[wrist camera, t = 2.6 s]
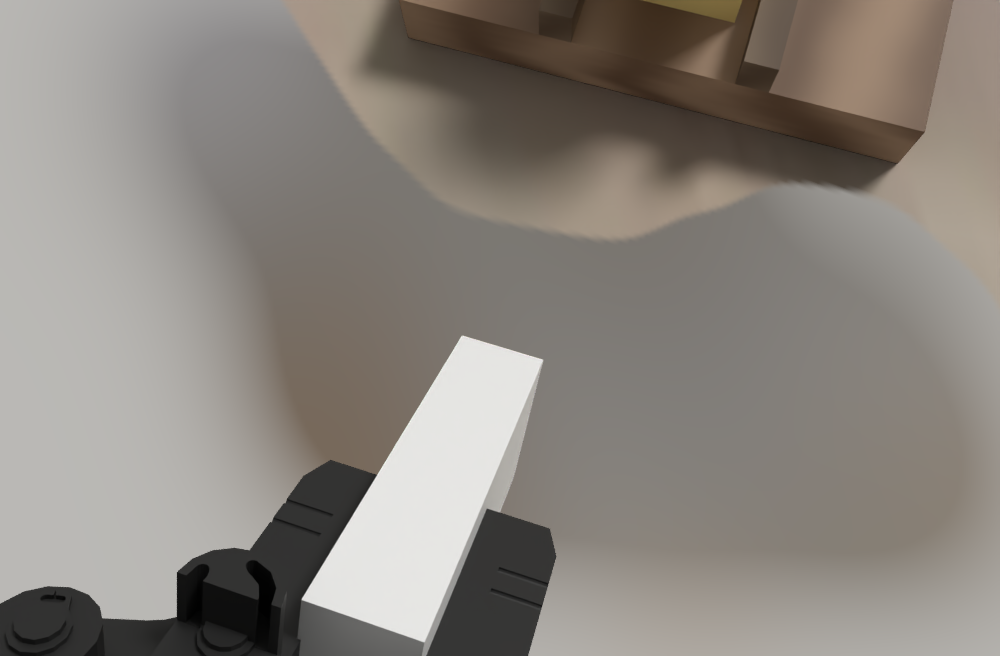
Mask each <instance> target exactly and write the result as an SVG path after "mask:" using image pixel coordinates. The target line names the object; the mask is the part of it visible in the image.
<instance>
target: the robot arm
mask: <svg viewBox="0 0 1000 656" xmlns="http://www.w3.org/2000/svg"><path fill="white" fill-rule="evenodd" d="M542 363H543V360H542V359H539V358H535V357H532V356H528V355H525V354H522V353H519V352H515V351H512V350H509V349H505V348H502V347H498V346H495V345H492V344H488V343H485V342H482V341H479V340H475V339H471V338H469V337H465V336H462V337H461V338H460V340H459V342H458V343H457V345H456V347H455V348H454V350H453V352H452V353H451V355H450V356H449V358H448V360H447V361H446V363H445V365H444V366H443V368H442V370H441V371H440V373H439V375H438V377H437V378H436V379H435V381H434V383H433V384H432V386H431V388H430V389H429V391H428V393H427V394H426V396H425V398H424V399H423V401H422V402H421V404H420V406H419V407H418V409H417V411H416V412H415V414H414V416H413V417H412V419H411V420H410V422H409V424H408V425H407V427H406V429H405V430H404V432H403V434H402V435H401V437H400V439H399V440H398V442H397V443H396V445H395V447H394V449H393V450H392V452H391V453H390V455H389V457H388V458H387V460H386V462H385V463H384V465H383V467H382V468H381V470H380V471H379V473H378V475H375V474H372V473H369V472H366V471H363V470H360V469H357V468H354V467H351V466H348V465H345V464H341V463H338V462H335V461H332V460H330V461H328V462H326V463H325V464H323V465H321V466H320V467H318V468H316V469H315V470H313V471H311V472H310V473H308V474H306V475H305V476H303V478H302V479H301V480H300V482H299V483H298V484H297V486H296V487H295V489H294V490H293V491H292V493H291V494H290V496H289V497H288V498H287V501H286V503H284V504H283V505H282V507H281V508H280V509H279V511H278V512H277V513H276V515H275V516H274V518H273V521H272V523H271V522H270V523H269V524H268V526H267V527H266V529H265V530H264V531H263V533H262V534H261V536H260V537H259V538H258V540H257V541H256V542H255V544H254V545H253V547H252V548H251V549H250V551H249V550H244V549H237V548H231V549H221V550H213V551H210V552H208V553H205V554H203V555H201V556H198V557H196V558H193V559H192V560H191V561H190V562H188V563H187V564H186V565H185V566H184V567H182V568H181V569H180V570H179V571H178V572H177V617H175V618H171V619H166V620H150V621H145V620H124V619H123V620H121V619H103V618H102V616H101V611H100V607H99V606H98V605H97V604H96V603H95V601H94V600H93V599H92V598H91V597H90V596H89V595H88V594H85V593H83V592H80V591H77V590H75V589H72V588H69V587H50V586H48V587H43V588H38V589H34V590H29V591H25V592H22V593H21V594H18V595H16V596H15V597H12V598H10V599H9V600H7V601H5V602H3V603H1V604H0V656H528V653H529V650H530V647H531V643H532V639H533V636H534V633H535V629H536V626H537V622H538V619H539V615H540V611H541V608H542V605H543V601H544V598H545V594H546V590H547V587H548V583H549V580H550V576H551V573H552V570H553V566H554V563H555V559H556V553H555V549H554V545H553V541H552V537H551V533H550V529H549V528H546V527H543V526H540V525H536V524H533V523H530V522H527V521H524V520H521V519H518V518H514V517H512V516H508V515H506V514H502V513H500V511H501V508H502V506H503V503H504V501H505V498H506V496H507V493H508V490H509V488H510V485H511V483H512V480H513V478H514V474H515V470H516V466H517V462H518V458H519V454H520V450H521V446H522V442H523V438H524V434H525V430H526V426H527V423H528V418H529V414H530V411H531V407H532V403H533V399H534V395H535V391H536V387H537V383H538V379H539V375H540V371H541V367H542Z"/></svg>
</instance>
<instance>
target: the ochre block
mask: <svg viewBox="0 0 1000 656" xmlns="http://www.w3.org/2000/svg"><path fill="white" fill-rule="evenodd" d="M643 1H647V2H651V3H655V4H659V5H663V6H667V7H671V8H675V9H680V10H684V11H688V12H692V13H696V14H700V15H704V16H708V17H712V18H716V19H721V20H725V21H729V22H733V23H735V20H736V17H737V14H738V12H739V9H740V6H741V3H742V0H643Z"/></svg>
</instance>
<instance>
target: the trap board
mask: <svg viewBox="0 0 1000 656" xmlns="http://www.w3.org/2000/svg"><path fill="white" fill-rule="evenodd" d="M399 2H400V6H401V10H402V14H403V18H404V22H405V26H406V31H407V35H408V37H409V38H412V39H416V40H420V41H424V42H428V43H432V44H436V45H440V46H443V47H447V48H451V49H455V50H459V51H463V52H467V53H471V54H475V55H478V56H482V57H486V58H490V59H494V60H498V61H502V62H506V63H509V64H513V65H517V66H521V67H525V68H529V69H533V70H537V71H541V72H544V73H548V74H552V75H556V76H560V77H564V78H568V79H572V80H575V81H579V82H583V83H587V84H591V85H595V86H599V87H603V88H607V89H610V90H614V91H618V92H622V93H626V94H630V95H634V96H638V97H642V98H645V99H649V100H653V101H657V102H661V103H665V104H669V105H673V106H676V107H680V108H684V109H688V110H692V111H696V112H700V113H704V114H708V115H711V116H715V117H719V118H723V119H727V120H731V121H735V122H739V123H742V124H746V125H750V126H754V127H758V128H762V129H766V130H770V131H774V132H777V133H781V134H785V135H789V136H793V137H797V138H801V139H805V140H808V141H812V142H816V143H820V144H824V145H828V146H832V147H836V148H840V149H843V150H847V151H851V152H855V153H859V154H863V155H867V156H871V157H875V158H878V159H882V160H886V161H890V162H894V163H899V161H900V160H901V159H902V158H903V157H904V156H905V154H906V153H907V152H908V151H909V150H910V149H911V147H912V146H913V145H914V144H915V143H916V142H917V140H918V139H919V138H920V137H921V136H922V135H923V133H924V132H925V129H926V124H927V119H928V115H929V110H930V106H931V101H932V96H933V92H934V87H935V82H936V78H937V73H938V69H939V64H940V59H941V55H942V50H943V45H944V41H945V36H946V32H947V27H948V22H949V18H950V13H951V9H952V4H953V0H742V3H741V6H740V9H739V12H738V14H737V17H736V20H735V23H733V22H729V21H725V20H721V19H716V18H712V17H708V16H704V15H700V14H696V13H692V12H688V11H684V10H680V9H675V8H671V7H667V6H663V5H659V4H655V3H651V2H647V1H643V0H399Z"/></svg>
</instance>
